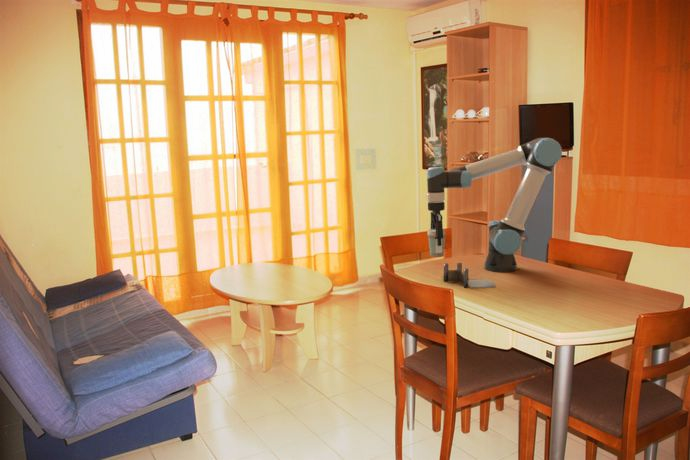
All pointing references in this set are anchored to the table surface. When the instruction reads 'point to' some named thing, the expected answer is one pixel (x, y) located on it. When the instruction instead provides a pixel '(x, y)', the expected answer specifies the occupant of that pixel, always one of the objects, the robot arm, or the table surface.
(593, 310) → the table surface
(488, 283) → the coaster
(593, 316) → the table surface
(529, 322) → the table surface
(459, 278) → the rail
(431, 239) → the coffee cup
